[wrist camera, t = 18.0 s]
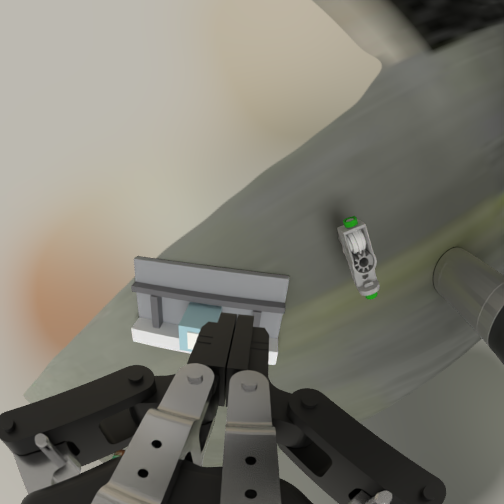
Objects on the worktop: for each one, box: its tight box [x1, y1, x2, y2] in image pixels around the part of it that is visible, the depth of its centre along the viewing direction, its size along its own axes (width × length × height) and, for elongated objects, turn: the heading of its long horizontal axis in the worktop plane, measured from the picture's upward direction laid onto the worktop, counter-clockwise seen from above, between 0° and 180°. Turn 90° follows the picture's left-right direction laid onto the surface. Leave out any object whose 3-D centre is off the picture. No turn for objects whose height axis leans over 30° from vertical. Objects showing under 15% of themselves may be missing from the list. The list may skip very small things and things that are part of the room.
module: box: [178, 302, 222, 352], centre depth 39 cm, size 5×4×7 cm
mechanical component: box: [337, 216, 380, 299], centre depth 33 cm, size 3×10×10 cm, turn 24°
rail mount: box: [131, 256, 289, 365], centre depth 41 cm, size 24×16×5 cm, turn 84°
